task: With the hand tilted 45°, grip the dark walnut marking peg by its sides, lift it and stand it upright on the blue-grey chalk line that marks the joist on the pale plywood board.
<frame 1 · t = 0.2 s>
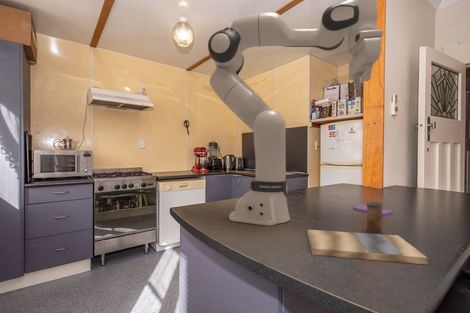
hand: (361, 84, 80), 47 cm above the counter, fingers open, 8 cm apart
sponges: (371, 213, 96), on the counter
marking peg: (374, 232, 71), on the counter
plywood board: (358, 247, 61), on the counter
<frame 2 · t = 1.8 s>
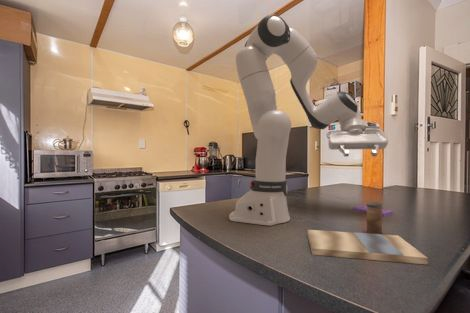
hand: (360, 155, 85), 23 cm above the counter, fingers open, 8 cm apart
nothing on the counter moved.
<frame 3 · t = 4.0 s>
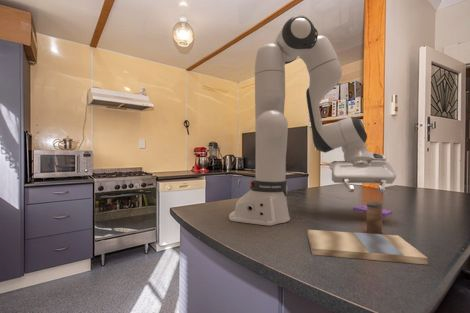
hand: (366, 191, 79), 11 cm above the counter, fingers open, 8 cm apart
nothing on the counter moved.
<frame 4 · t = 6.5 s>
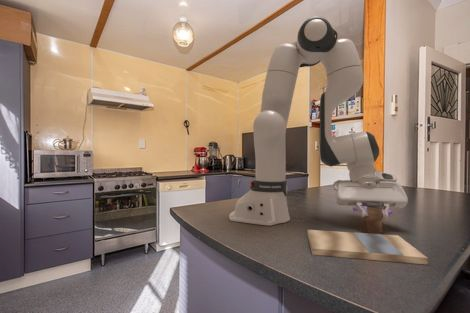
hand: (375, 217, 71), 5 cm above the counter, fingers closed on marking peg, 4 cm apart
marking peg: (374, 232, 71), on the counter, touching gripper
everything else where it was.
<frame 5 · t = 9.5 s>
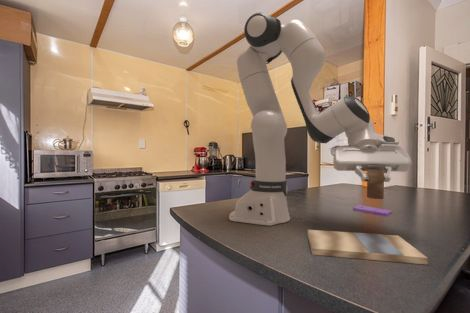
hand: (376, 180, 65), 17 cm above the counter, fingers closed on marking peg, 4 cm apart
marking peg: (375, 197, 66), point 12 cm above the counter, touching gripper
everything else where it was.
when the fingers open (7 cm above the counter, at t = 12.7 s): marking peg stays where it is, resting on plywood board.
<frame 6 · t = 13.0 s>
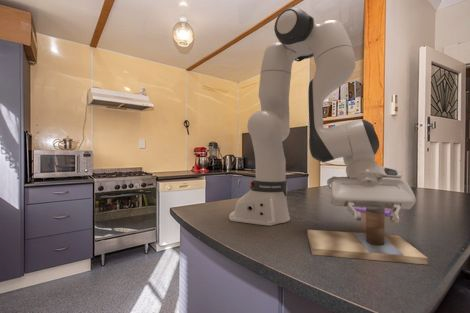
hand: (376, 220, 59), 7 cm above the counter, fingers open, 7 cm apart
marking peg: (375, 242, 60), point 2 cm above the counter, touching plywood board
everything else where it was.
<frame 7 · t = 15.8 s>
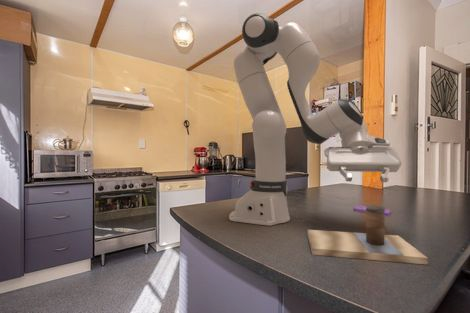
hand: (366, 180, 67), 16 cm above the counter, fingers open, 8 cm apart
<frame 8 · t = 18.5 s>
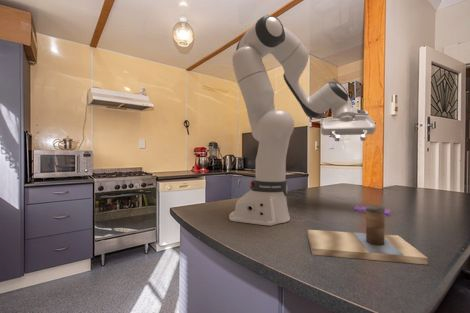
hand: (350, 139, 91), 29 cm above the counter, fingers open, 8 cm apart
at the end: marking peg inside the target area on the plywood board (0.1 cm from its centre), point 1.6 cm above the plywood board's base; marking peg tilted 0°; the gripper is holding nothing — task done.
